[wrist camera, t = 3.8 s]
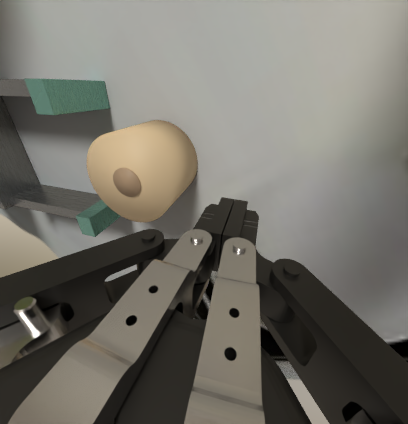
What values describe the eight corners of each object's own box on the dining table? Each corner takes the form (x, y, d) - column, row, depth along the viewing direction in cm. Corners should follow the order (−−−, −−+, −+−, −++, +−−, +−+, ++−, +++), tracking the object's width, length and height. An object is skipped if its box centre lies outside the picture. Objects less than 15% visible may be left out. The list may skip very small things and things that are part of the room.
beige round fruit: (196, 121, 18) (164, 136, 13) (198, 196, 22) (174, 230, 17) (124, 118, 20) (72, 129, 15) (137, 188, 24) (100, 215, 19)
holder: (104, 81, 19) (41, 78, 14) (130, 208, 26) (95, 236, 21) (-14, 80, 22) (-96, 78, 17) (37, 191, 29) (-12, 211, 24)
